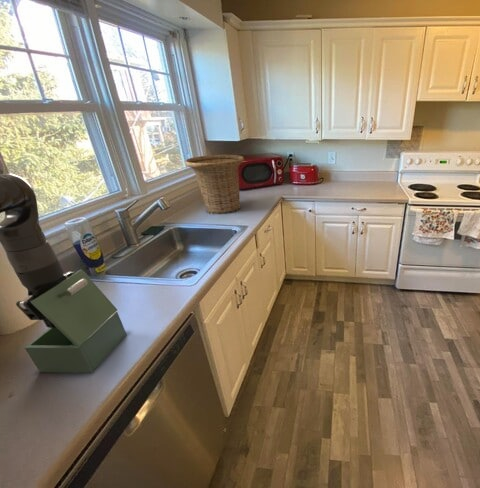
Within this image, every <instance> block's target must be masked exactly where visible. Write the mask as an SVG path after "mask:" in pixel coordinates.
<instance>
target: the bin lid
mask: <svg viewBox="0 0 480 488" xmlns="http://www.w3.org/2000/svg"><path fill="white" fill-rule="evenodd" d="M75 272H76V273H75V274H73V275H71V276H70V277H68V278H67V279H65V280H64V281H62V282H61V283H59V284H57V285H56V286H54V287H53V288H51V289H50V290H48V291H47V292H45V293H43V294H42V295H40V296H39V297H37V298H36V299H34V300H33V301H31V303H32V304H33V305H34V306H35V307H36V308H37V309H38V310H39V311H40V312H41V313H42V314H43V315H44V316H45V317H46V318H47V319H48V320H49V321H50V322H51V323H53V324H54V325H55V326H56V327H57V328H58V329H59V330H60V331H61V332H62V333H63V334H64V335H65V336H66V337H67V338H68V339H69V340H70V341H71V342H72V343H73V344H74V345H75V346H76V347H78V346H80V345H81V344H82V343H83V342H84V341H85V340H86V339H87V338H88V337H89V336H90V335H92V334H93V333H94V332H95V331H96V330H97V329H98V328H99V327H100V326H101V325H102V324H103V323H104V322H105V321H106V320H107V319H108V318H110V317H111V316H112V315H113V314H114V313H115V312H118V308H117V307H116V306H115V305H114V304H113V303H112V302H111V300H110V299H109V298H108V296H106V295H105V294H104V293H103V291H102V290H101V289H100V288H99V286H98V285H96V284H95V282H94V281H93V280H92V279H91V278H90V276H88V274H87V273H86V272H85V271H84V270H83V269H79V270H78V271H75Z"/></svg>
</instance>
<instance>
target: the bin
mask: <svg viewBox="0 0 480 488" xmlns="http://www.w3.org/2000/svg"><path fill="white" fill-rule="evenodd" d="M126 335H127V331H126V329H125V327H124V325H123V322H122V320H121V317H120V315H119V313H118V311H116V312H115V313H114V314H113V315H112V316H111V317H110V318H108V319H107V320H106V321H105V322H104V323H103V324H102V325H101V326H100V327H99V328H98V329H97V330H96V331H95V332H94V333H93V334H92V335H90V336H89V337H88V338H87V339H86V340H85V341H84V342H83V343H82V344H81V345H80V346H78V347H76V346H75V345H74V344H73V343H72V342H71V341H70V340H69V339H68V338H67V337H66V336H65V335H64V334H63V333H62V332H61V331H60V330H59V329H57V328H47V329H46V330H45V331H44V332H42V333H41V334H39V335H38V336H37V337H36V338H35V339H33V340H32V341H31V342H30V343H28V344H27V345H25V346H23V348H24V350H25V352H26V354H28V356H29V358H30V359H31V360H32V362H33V363H34V365H35V367H36V368H37V370H38V371H39V373H93V372H94V370H96V369H97V368H98V367H99V365H100V364H101V363H102V362H103V361H104V360H105V359H106V358H107V357H108V355H109V354H110V353H111V352H112V351H113V350H114V349H115V348H116V346H117V345H118V344H119V343H121V341H122V340H123V339H124V337H126Z"/></svg>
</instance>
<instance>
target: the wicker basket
mask: <svg viewBox="0 0 480 488" xmlns="http://www.w3.org/2000/svg"><path fill="white" fill-rule="evenodd" d="M244 162H245V159H244V156H242V155H238V154H210V155H200V156H194V157H190V158H187V159H185V160H184V164H185V166H186V167H189V168H191V169H192V170H193V171H194V174H195V177H196V181H197V183H198V186H199V190H200V193H201V196H202V200H203V202H204V203H203V204H204V206H205V209H206V211H207V213H208V214H212V215H213V214H215V215H219V214H221V215H224V214H225V213H226V214H230V213H234V212H236V211H237V212H238V210H240V208H241V199H240V198H241V197H240V178H239V167H240V165H241V164H243V163H244Z"/></svg>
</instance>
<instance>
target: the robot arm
mask: <svg viewBox="0 0 480 488" xmlns="http://www.w3.org/2000/svg"><path fill="white" fill-rule="evenodd" d="M37 200H38V199H37V195H36V193H35V190H34V189H33V187H32V186H31V184H30V183H29V182H28V181H27V180H25V178H23V177H21V176H19V175H16V174H13V173H1V174H0V214H2V213H4V218H2V220H1V221H0V245H1V247H2V249H3V250H4V252H5V256H6V258H7V260H8V262H9V264H10V266H11V268H12V269H13V271H14V273H15V274H16V276H17V279H18V280H19V282H20V283H21V285H22V286H23V287H24V288H25V289H27V296H26V297H25V298H24V299H22V300H18V301H16V303H15V305H16V307H17V308H18V309H19V310H20V311H21V312H22V313H23V314H24V315H25V316H26V317H27V318H28V319H29V320H30V321H43V324H45V325H44V326H45V327H46V328H47V329H49V328H57V327H56V326H55V325H54V324H53V323H51V322H50V321H49V320H48V319H47V318H46V317H45V316H44V315H43V314H42V313H41V312H40V311H39V310H38V309H37V308H36V307H35V306H34V305H33V304H32V303H31V301H33V300H34V299H36V298H37V297H39V296H40V295H42V294H43V293H45V292H47V291H48V290H50V289H51V288H53V287H54V286H56V285H57V284H59V283H61V282H62V281H64V280H65V279H67V278H68V277H70V276H71V275H73V274H75V273H76V272H77V271H64V269H63V266H62V264H61V262H60V260H59V258H58V256H57V254H56V253H55V250H54V249H53V247H52V245H51V244H50V242H49V241H48V239H47V236H45V233H44V231H43V229H42V227H41V225H40V216H39V215H40V214H39V209H38V202H37Z"/></svg>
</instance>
